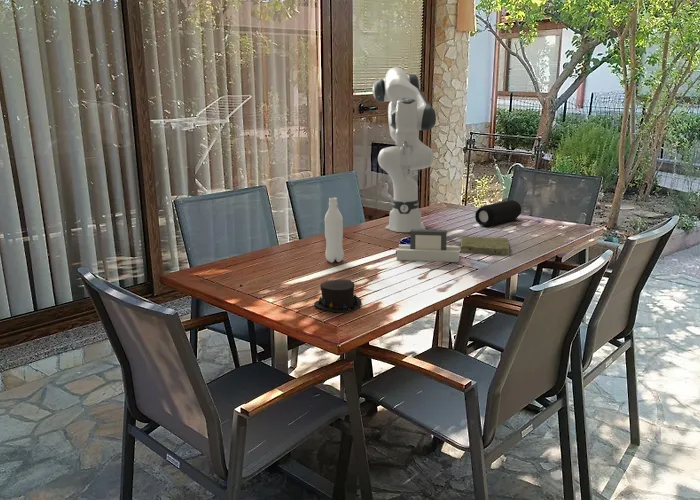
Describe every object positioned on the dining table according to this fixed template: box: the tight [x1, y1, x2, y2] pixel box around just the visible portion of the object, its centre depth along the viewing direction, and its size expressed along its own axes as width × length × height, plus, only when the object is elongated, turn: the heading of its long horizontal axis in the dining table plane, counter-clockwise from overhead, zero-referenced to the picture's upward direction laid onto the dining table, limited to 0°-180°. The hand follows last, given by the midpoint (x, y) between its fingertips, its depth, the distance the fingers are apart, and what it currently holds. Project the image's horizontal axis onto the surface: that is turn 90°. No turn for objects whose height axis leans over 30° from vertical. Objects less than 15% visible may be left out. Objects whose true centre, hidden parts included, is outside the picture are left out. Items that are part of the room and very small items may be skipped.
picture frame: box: [409, 229, 448, 250], centre depth 246 cm, size 3×14×10 cm, turn 79°
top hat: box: [314, 275, 362, 314], centre depth 197 cm, size 15×15×10 cm
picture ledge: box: [396, 243, 460, 263], centre depth 247 cm, size 9×24×4 cm, turn 79°
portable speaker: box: [474, 199, 522, 227], centre depth 303 cm, size 26×10×10 cm, turn 130°
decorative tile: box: [459, 236, 510, 256], centre depth 259 cm, size 19×20×4 cm
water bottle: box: [323, 197, 345, 263], centre depth 242 cm, size 7×7×25 cm
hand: (406, 175), depth 251 cm, fingers open, 8 cm apart
